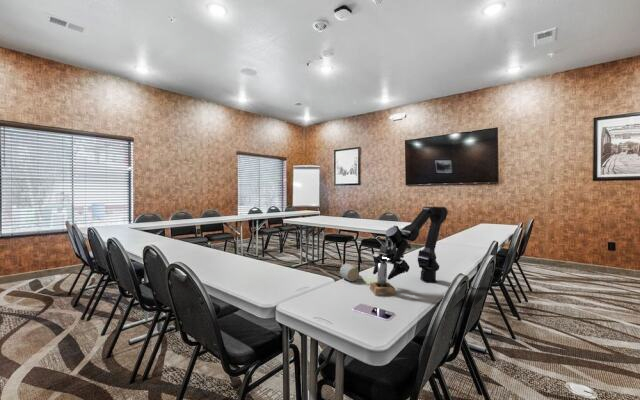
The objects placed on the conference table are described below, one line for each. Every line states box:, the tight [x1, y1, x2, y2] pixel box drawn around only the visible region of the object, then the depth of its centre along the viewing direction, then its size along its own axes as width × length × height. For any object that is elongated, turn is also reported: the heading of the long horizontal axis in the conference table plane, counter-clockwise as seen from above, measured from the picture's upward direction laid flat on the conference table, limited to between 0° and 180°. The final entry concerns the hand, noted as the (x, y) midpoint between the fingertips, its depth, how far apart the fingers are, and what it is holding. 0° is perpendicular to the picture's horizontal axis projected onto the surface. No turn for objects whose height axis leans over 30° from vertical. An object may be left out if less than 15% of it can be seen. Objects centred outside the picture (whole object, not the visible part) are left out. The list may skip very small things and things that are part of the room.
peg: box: [377, 262, 388, 287], centre depth 132 cm, size 4×4×13 cm
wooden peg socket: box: [369, 281, 396, 296], centre depth 132 cm, size 9×9×3 cm
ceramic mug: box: [339, 263, 363, 282], centre depth 150 cm, size 11×8×8 cm
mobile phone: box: [351, 303, 396, 322], centre depth 109 cm, size 8×1×15 cm
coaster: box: [361, 277, 378, 286], centre depth 147 cm, size 10×10×1 cm
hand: (380, 276), depth 131 cm, fingers open, 9 cm apart
